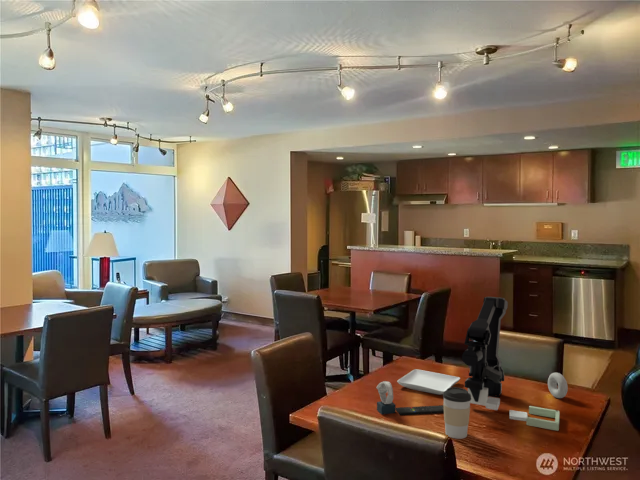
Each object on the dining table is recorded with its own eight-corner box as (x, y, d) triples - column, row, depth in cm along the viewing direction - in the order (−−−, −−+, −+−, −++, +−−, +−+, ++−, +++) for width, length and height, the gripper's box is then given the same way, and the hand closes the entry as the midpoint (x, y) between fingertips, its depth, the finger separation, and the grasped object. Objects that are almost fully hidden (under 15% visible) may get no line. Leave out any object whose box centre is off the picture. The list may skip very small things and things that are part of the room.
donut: (569, 402, 192) (570, 376, 191) (561, 402, 191) (562, 377, 191) (553, 392, 201) (553, 368, 201) (545, 393, 201) (546, 369, 200)
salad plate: (461, 384, 212) (461, 376, 212) (445, 399, 194) (445, 391, 194) (414, 375, 223) (414, 368, 223) (395, 389, 206) (396, 381, 205)
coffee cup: (438, 428, 166) (439, 385, 166) (464, 427, 167) (465, 384, 166) (447, 440, 157) (448, 394, 157) (474, 439, 158) (475, 394, 157)
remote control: (395, 411, 182) (395, 407, 182) (456, 408, 186) (456, 404, 186) (399, 417, 177) (399, 413, 177) (462, 413, 181) (462, 410, 181)
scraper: (466, 404, 182) (466, 388, 181) (469, 398, 188) (470, 383, 188) (497, 410, 177) (497, 394, 176) (499, 403, 183) (500, 388, 183)
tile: (509, 420, 175) (509, 415, 175) (509, 413, 181) (509, 409, 181) (527, 422, 173) (527, 418, 173) (526, 416, 179) (527, 412, 179)
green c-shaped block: (526, 424, 170) (526, 417, 170) (529, 412, 181) (529, 405, 181) (558, 430, 165) (558, 423, 165) (559, 417, 176) (559, 410, 176)
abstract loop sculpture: (388, 406, 185) (388, 378, 185) (397, 414, 178) (397, 385, 177) (374, 408, 184) (375, 379, 183) (383, 416, 176) (383, 386, 176)
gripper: (497, 369, 171) (496, 413, 171) (504, 356, 187) (503, 396, 188) (464, 364, 176) (463, 407, 176) (473, 352, 192) (473, 391, 193)
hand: (477, 400), depth 183 cm, fingers closed on scraper, 2 cm apart
